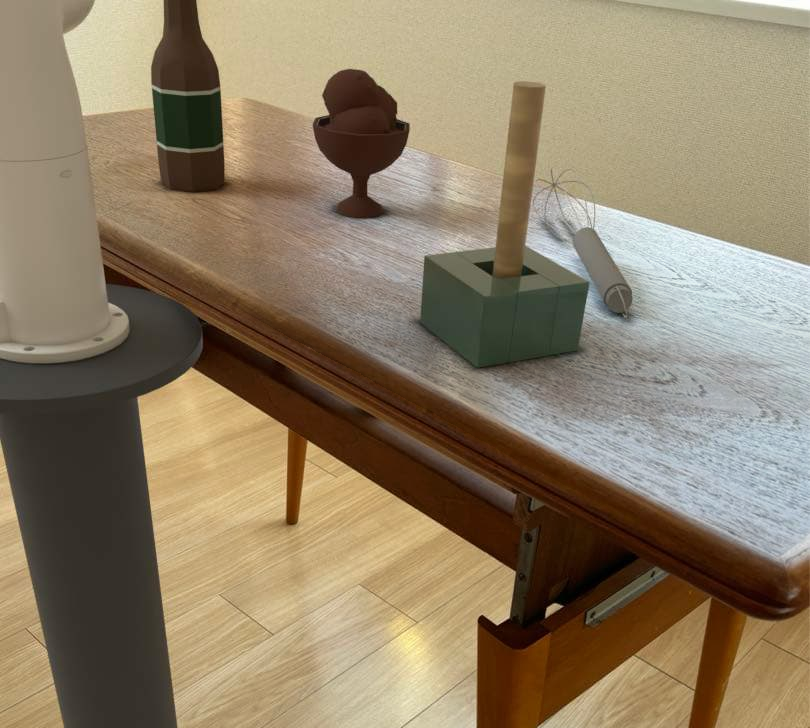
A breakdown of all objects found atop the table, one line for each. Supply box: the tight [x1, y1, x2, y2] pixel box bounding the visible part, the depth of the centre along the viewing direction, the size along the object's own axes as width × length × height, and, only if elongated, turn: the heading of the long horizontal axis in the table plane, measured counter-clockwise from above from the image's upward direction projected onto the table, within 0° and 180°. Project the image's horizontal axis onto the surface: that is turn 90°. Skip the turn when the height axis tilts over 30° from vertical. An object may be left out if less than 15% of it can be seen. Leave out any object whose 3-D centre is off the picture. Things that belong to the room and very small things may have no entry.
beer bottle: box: [150, 0, 226, 193], centre depth 108 cm, size 8×8×24 cm
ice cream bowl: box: [312, 68, 411, 219], centre depth 105 cm, size 11×11×15 cm
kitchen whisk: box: [532, 167, 634, 319], centre depth 97 cm, size 6×34×6 cm, turn 4°
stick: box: [492, 80, 547, 280], centre depth 75 cm, size 2×2×20 cm
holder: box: [419, 245, 590, 369], centre depth 80 cm, size 10×10×6 cm
